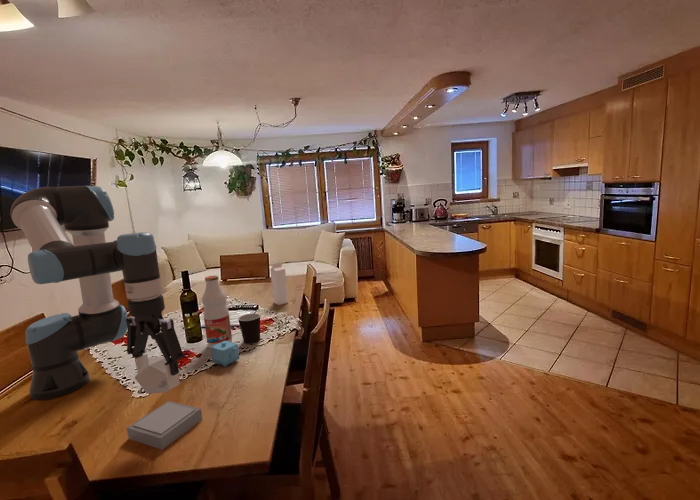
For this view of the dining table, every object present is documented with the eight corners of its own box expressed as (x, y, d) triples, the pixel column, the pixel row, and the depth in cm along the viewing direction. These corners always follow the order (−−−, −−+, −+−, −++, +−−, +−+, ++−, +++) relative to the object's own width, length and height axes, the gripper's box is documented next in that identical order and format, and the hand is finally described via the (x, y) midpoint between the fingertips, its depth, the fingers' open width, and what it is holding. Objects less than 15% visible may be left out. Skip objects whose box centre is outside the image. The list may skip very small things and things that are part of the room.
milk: (273, 303, 195) (269, 263, 191) (283, 300, 198) (279, 262, 195) (278, 305, 190) (274, 265, 187) (288, 302, 194) (284, 263, 190)
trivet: (128, 438, 87) (126, 426, 87) (170, 410, 98) (168, 400, 98) (162, 449, 83) (160, 437, 82) (202, 419, 93) (200, 407, 93)
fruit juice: (237, 340, 145) (229, 274, 141) (221, 350, 136) (212, 279, 132) (219, 338, 148) (210, 273, 144) (202, 348, 140) (192, 279, 136)
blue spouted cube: (246, 362, 125) (243, 342, 123) (231, 370, 120) (229, 349, 119) (224, 356, 131) (222, 336, 130) (210, 363, 126) (207, 343, 125)
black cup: (259, 344, 140) (257, 320, 138) (238, 345, 140) (235, 321, 138) (266, 333, 151) (264, 310, 150) (246, 334, 151) (244, 311, 150)
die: (152, 406, 83) (175, 366, 84) (120, 387, 83) (144, 348, 85) (170, 399, 91) (191, 363, 93) (141, 382, 92) (163, 346, 94)
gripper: (100, 299, 86) (115, 384, 90) (164, 304, 77) (178, 398, 80) (129, 290, 93) (143, 370, 96) (191, 294, 84) (204, 382, 87)
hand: (159, 383), depth 88 cm, fingers closed on die, 10 cm apart
